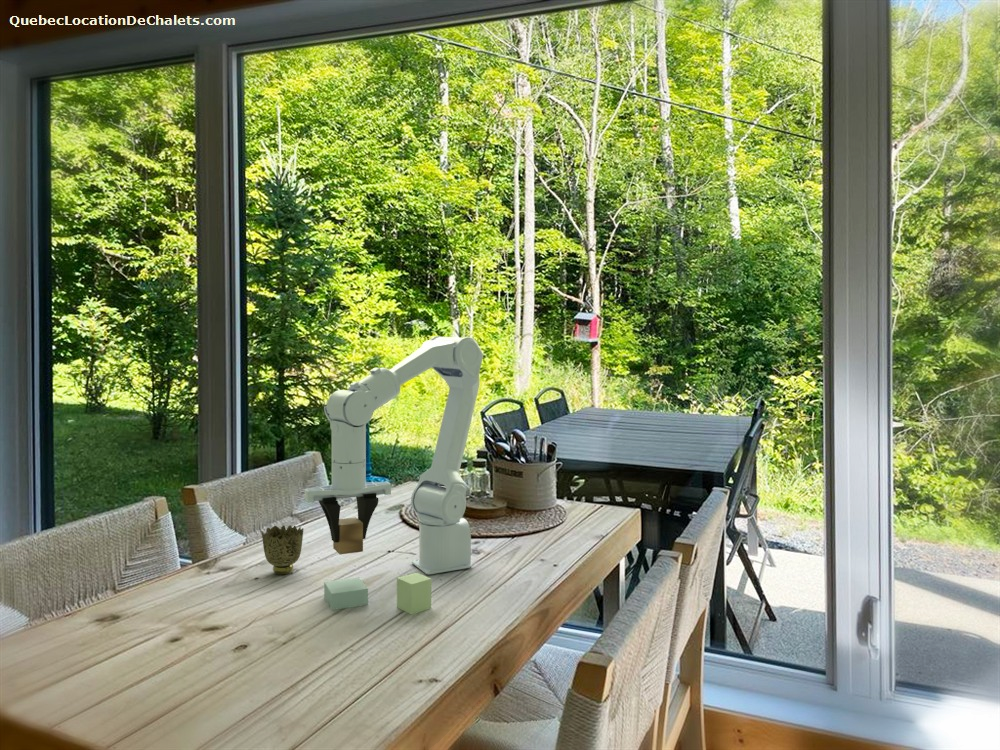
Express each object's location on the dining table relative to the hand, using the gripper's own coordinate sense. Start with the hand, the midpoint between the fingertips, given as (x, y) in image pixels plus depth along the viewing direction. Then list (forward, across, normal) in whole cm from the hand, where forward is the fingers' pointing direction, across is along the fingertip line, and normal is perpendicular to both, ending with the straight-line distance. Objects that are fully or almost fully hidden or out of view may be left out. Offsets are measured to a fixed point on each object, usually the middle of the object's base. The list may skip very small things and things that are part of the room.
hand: (348, 539), depth 131 cm
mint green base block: (+10, +1, +3) cm, 10 cm away
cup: (+10, +8, -16) cm, 20 cm away
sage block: (+10, -8, +11) cm, 16 cm away
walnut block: (+2, 0, 0) cm, 2 cm away
